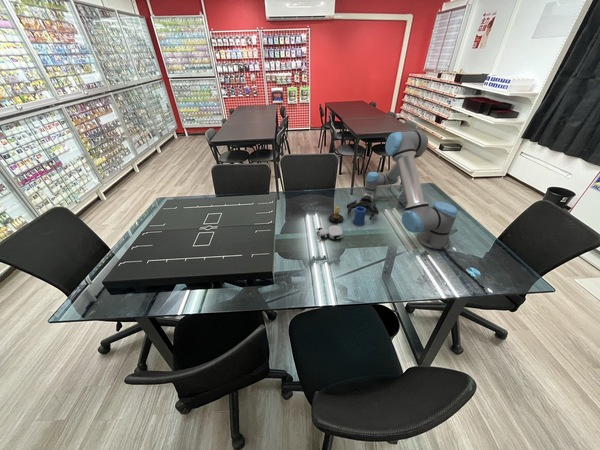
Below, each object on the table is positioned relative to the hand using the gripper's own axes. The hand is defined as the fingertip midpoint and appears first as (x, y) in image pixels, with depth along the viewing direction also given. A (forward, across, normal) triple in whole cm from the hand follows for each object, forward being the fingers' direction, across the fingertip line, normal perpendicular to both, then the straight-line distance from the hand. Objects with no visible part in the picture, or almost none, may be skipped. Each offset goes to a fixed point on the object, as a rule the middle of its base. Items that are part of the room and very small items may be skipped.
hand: (359, 215), depth 151 cm
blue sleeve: (-1, 0, -6) cm, 6 cm away
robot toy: (+20, +12, -6) cm, 24 cm away
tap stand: (+2, +14, -6) cm, 15 cm away
